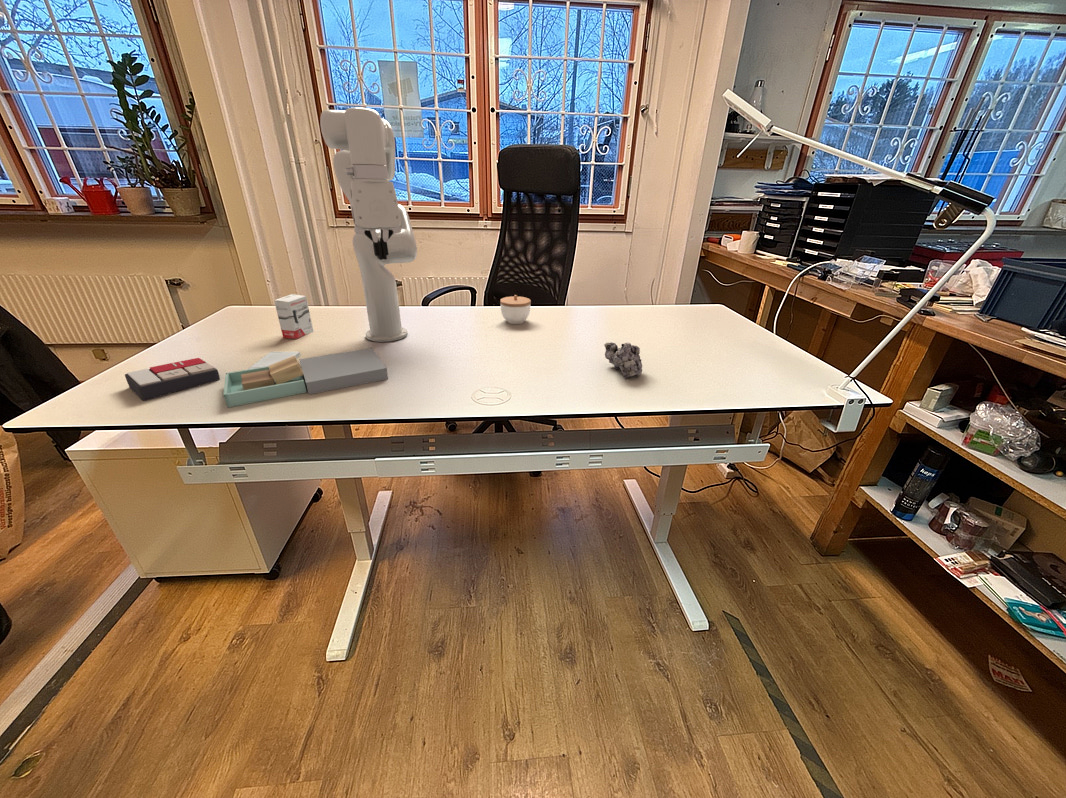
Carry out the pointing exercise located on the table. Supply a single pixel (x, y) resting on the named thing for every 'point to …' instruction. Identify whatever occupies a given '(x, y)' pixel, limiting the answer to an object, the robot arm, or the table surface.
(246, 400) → the tray
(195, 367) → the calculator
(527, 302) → the lidded jar
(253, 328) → the table surface
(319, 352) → the table surface
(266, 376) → the tile walnut
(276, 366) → the tile oak
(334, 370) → the board
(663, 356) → the table surface
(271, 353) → the hard drive
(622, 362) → the mineral specimen
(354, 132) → the robot arm
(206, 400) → the table surface
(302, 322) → the ink box
